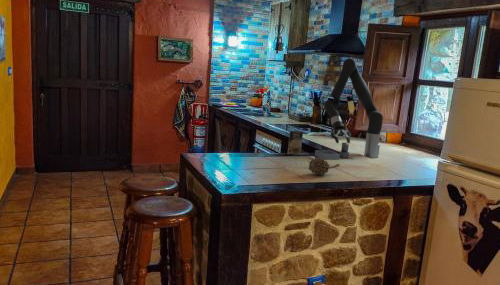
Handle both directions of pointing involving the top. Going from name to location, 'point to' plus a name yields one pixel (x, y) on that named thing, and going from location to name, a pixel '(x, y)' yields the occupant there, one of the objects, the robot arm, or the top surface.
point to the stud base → (346, 158)
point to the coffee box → (295, 142)
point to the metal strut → (344, 150)
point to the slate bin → (327, 155)
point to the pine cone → (320, 166)
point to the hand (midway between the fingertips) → (343, 142)
